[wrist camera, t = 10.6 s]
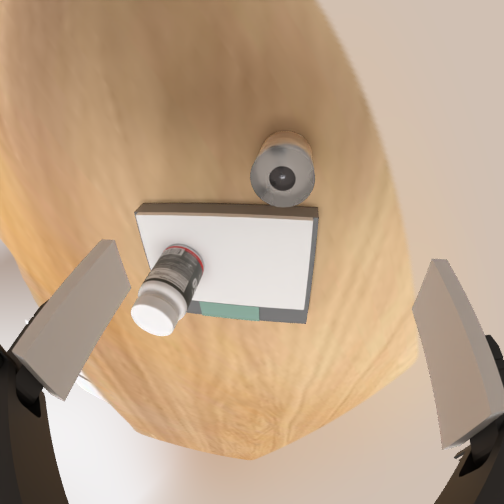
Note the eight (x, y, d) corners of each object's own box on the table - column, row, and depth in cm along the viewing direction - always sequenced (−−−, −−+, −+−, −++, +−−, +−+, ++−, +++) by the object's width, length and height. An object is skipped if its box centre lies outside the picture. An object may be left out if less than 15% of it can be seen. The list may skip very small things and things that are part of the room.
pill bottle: (193, 286, 31) (167, 346, 24) (157, 264, 30) (122, 320, 23) (213, 259, 28) (186, 323, 22) (172, 235, 27) (134, 293, 21)
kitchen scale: (143, 203, 29) (131, 215, 27) (317, 207, 26) (318, 221, 24) (168, 298, 37) (161, 312, 35) (306, 311, 34) (305, 327, 32)
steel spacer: (260, 130, 23) (248, 147, 18) (312, 131, 22) (316, 149, 17) (261, 177, 25) (251, 206, 20) (310, 179, 25) (313, 209, 20)
